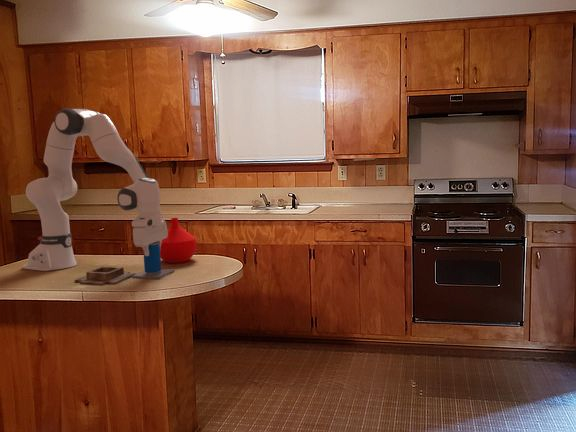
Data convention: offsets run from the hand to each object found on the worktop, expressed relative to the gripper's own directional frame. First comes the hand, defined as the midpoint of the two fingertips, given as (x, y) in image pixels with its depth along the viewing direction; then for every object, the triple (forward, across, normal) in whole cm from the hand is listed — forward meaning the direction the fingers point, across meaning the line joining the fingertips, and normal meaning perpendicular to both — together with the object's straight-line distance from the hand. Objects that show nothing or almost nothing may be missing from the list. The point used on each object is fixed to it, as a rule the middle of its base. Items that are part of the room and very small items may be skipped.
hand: (152, 253), depth 224 cm
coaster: (+9, 0, 0) cm, 9 cm away
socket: (+8, +9, -16) cm, 20 cm away
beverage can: (+8, 0, 0) cm, 8 cm away
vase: (+9, -25, -3) cm, 27 cm away
